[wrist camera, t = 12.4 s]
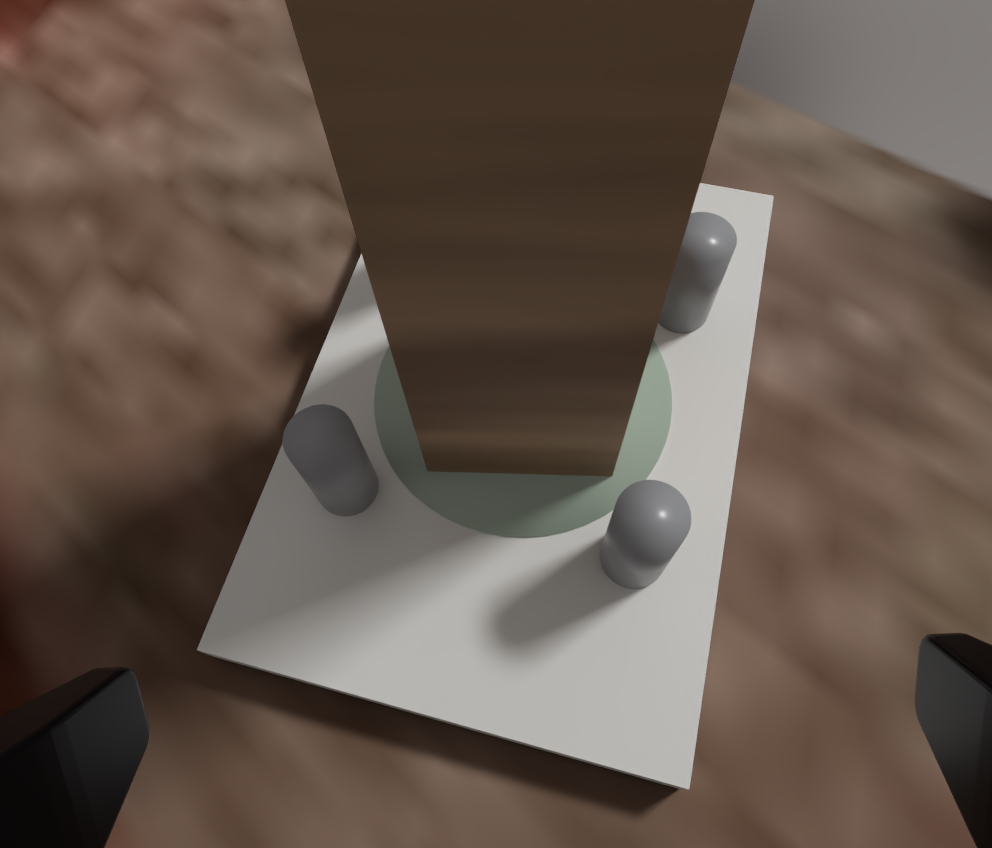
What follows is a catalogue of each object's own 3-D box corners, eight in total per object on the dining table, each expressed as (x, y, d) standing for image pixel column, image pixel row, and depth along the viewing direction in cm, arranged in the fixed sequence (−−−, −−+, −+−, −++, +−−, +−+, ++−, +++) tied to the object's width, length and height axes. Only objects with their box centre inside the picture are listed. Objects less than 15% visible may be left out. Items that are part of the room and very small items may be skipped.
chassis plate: (679, 788, 16) (724, 791, 13) (213, 656, 18) (134, 624, 14) (763, 218, 23) (809, 113, 19) (415, 156, 24) (397, 47, 21)
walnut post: (612, 476, 18) (773, -63, 7) (427, 471, 19) (267, -61, 7) (607, 319, 20) (727, -315, 9) (440, 316, 21) (331, -310, 9)
